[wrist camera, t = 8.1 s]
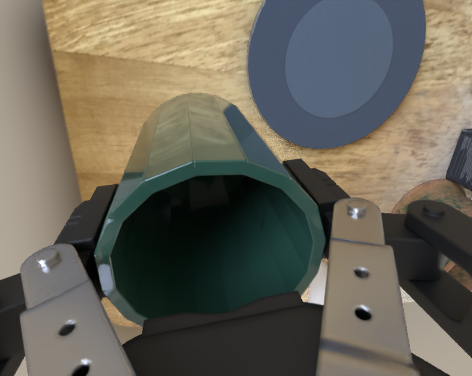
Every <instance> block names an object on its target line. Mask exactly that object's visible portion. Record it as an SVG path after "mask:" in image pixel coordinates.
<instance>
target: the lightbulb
mask: <svg viewBox="0 0 472 376" xmlns="http://www.w3.org/2000/svg"><path fill="white" fill-rule="evenodd" d="M327 267H328V266H327V265H326V264H325V263H324V262H323V261H322V260H321V264H320V268H319V272H318V274H317V275H316V277H315V278H314V279H313V281H312V282H311V284H310V285H309V293H308V303H316V304H320V305H324V296H325V287H326V277H327Z"/></svg>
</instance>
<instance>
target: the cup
mask: <svg viewBox="0 0 472 376" xmlns="http://www.w3.org/2000/svg"><path fill="white" fill-rule="evenodd" d="M325 243H326V237H325V233H324V229H323V225H322V220H321V216H320V212H319V208H318V206H317V204H316V203H315V202H314V200H313V199H312V198H311V197H310V195H309V194H308V193H307V192H306V190H305V189H304V188H303V187H302V185H301V184H300V183H299V182H298V180H297V179H296V178H295V177H294V175H293V174H292V173H291V172H290V170H289V169H288V168H287V167H286V165H285V164H284V163H283V162H282V160H281V159H280V158H279V157H278V155H277V154H276V153H275V152H274V150H273V149H272V148H271V147H270V145H269V144H268V143H267V142H266V140H265V139H264V138H263V137H262V135H261V134H260V133H259V132H258V130H257V129H256V128H255V127H254V125H253V124H252V123H251V122H250V121H249V120H248V118H247V117H246V116H245V115H244V114H243V113H242V112H241V111H240V110H239V108H238V107H237V106H235V105H233V104H232V103H231V102H229V101H227V100H225V99H223V98H221V97H218V96H216V95H211V94H207V93H189V94H183V95H180V96H176V97H174V98H172V99H170V100H167V101H166V102H164V103H163V104H161V105H160V106H159V107H158V108H156V109H155V110H154V111H153V112H152V114H151V115H150V116H149V117H148V119H147V120H146V121H145V122H144V124H143V127H142V129H141V132H140V134H139V137H138V139H137V142H136V144H135V147H134V149H133V152H132V154H131V156H130V159H129V161H128V164H127V166H126V169H125V171H124V174H123V176H122V179H121V181H120V184H119V186H118V189H117V191H116V194H115V196H114V199H113V201H112V204H111V206H110V209H109V211H108V214H107V216H106V219H105V222H104V225H103V228H102V231H101V234H100V237H99V240H98V243H97V246H96V249H95V252H94V258H95V263H96V268H97V272H98V277H99V281H100V286H101V290H102V292H103V293H104V295H105V296H106V297H107V298H108V299H109V300H110V301H111V303H112V304H113V305H114V306H115V307H116V308H117V309H118V311H119V312H120V313H121V314H122V315H123V316H124V318H126V319H127V320H129V321H131V322H133V323H135V324H137V325H140V326H142V327H143V323H144V320H146V319H152V318H157V317H162V316H167V315H172V314H178V313H183V312H186V313H219V314H221V313H227V312H229V311H232V310H234V309H236V308H238V307H241V306H243V305H245V304H248V303H250V302H252V301H254V300H257V299H259V298H261V297H266V296H271V295H277V294H282V293H287V292H292V291H298V292H299V294H300V297H301V296H302V295H303V293H304V292H305V290H306V289H307V288H308V286H309V285H310V284H311V282H312V281H313V279H314V278H315V277H316V275H317V274H318V272H319V268H320V264H321V260H322V255H323V251H324V247H325Z"/></svg>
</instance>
